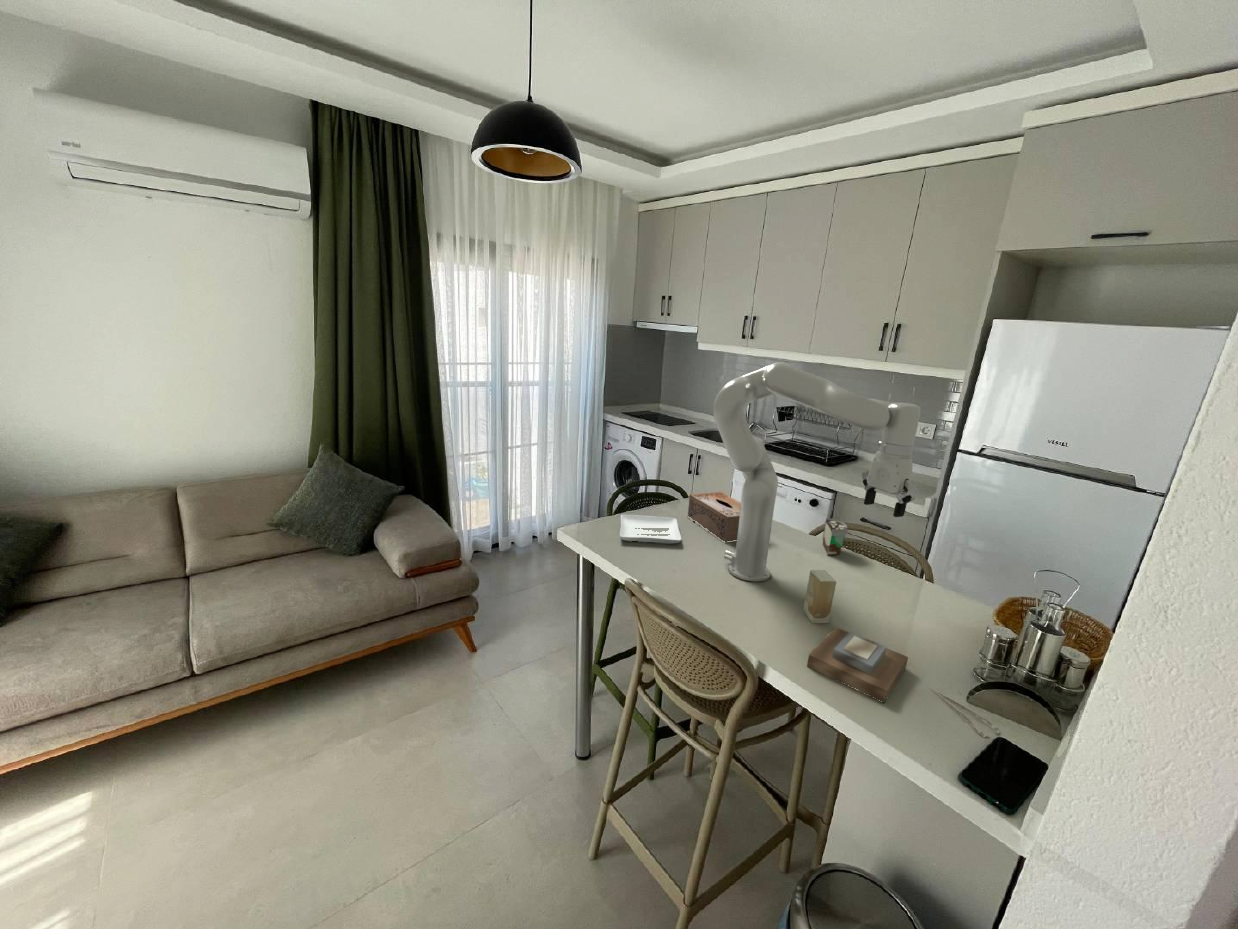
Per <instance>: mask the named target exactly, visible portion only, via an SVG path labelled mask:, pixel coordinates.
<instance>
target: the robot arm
mask: <svg viewBox="0 0 1238 929" xmlns="http://www.w3.org/2000/svg"><path fill="white" fill-rule="evenodd" d="M772 395H775V396H779V397H782V398H784V399H787V400H790V401H792V402H795V403H798V404H801V405H802V406H805V407H808V408H810V409H813V410H815V411H817V412H819V413H822V414H825V415H827V416H829V417H832V418H835V419H837V420H839V421H842V422H844V423H847V424H850V425H852V426H854V427H857V428H860V429H862V430H865V431H868V432H877V431H880V430H882V429H883V433H882V437H881V441H878V446H879V447H880V448H879V450H877V451H876V453H875V454H874V457H873V459H872V462H871V464H870V467H869V470H867V471H863V472H861V477H862V483H863V486H864V490H865V495H864V501H863V504H864V505H866V506H868V505H869V506H870V505H874V503H875V499H876V496H877V490H879V491H882V492H884V493H887V494H889V495H895V497H896V499H897V502H896V503H895V504H894V510H893V515H892V516H893V517H894V518H900V517H904V516H905V513H906V509H907V504H910V502H911V501H913V500H915V498H916V497H917V496H918V494H920V490H919V489H918V488H917V487H916V486H915V485H914V483H912V476H913V457H912V453H913V449H914V445H915V439H916V437H917V436H916V435H917V430H918V426H919V421H920V418H921V413H922V412H921V410H922V409H921V407H920V406H919V405H917V404H913V403H908V402H891V401H885V400H881V399H878V398H877V399H876V398H867V397H864V396H861V395H859V394H856V393H854V392H851V391H850V390H849V391H848V390H846V389H844V388H842V387H840V386H839V385H837V384H836V383H835V382H833V381H831V380H829V379H826V378H824V377H822V376H818V375H815V374H813V373H809V372H807V371H805V370H801V369H800V368H796V367H794V366H792V365H790V364H788V363H787V362H783V361H778V362H777V361H776V362H773V363H772V364H769V365H766V366H764V367H762V368H760V369H758V370H754V371H752V372H749V373H747V374H744V375H741V376H738V377H736V378H734V379H733V378H732V379H731V380H730V381H728V382H727V383H725V385H724V386H723V387H722V388H721V389H720V390H719V392H718V393H717V395H716V397H715V399H714V402H713V405H712V406H713V409H712V410H713V412H712V413H713V418H714V423H715V425H716V428H717V430H718V432H719V435H720V437H721V440H722V443H723V445H724V447H725V450H726V452H727V454H728V457H729V460H730V462H731V464H732V466H733V467H734V468H735V469H736V470H737V471H739V472H741V473H742V476H743V478H744V479H745V480H744V483H743V486H742V490H741V495H740V497H741V498H740V502H741V509H740V518H739V527H738V535H737V542H736V543H735V544H736V545H735V552H732V551H730V550H725V552H724V557H723V559H725V560H727V561H730V563H729V564H728V571H729V573H730V574H731V575H732V576H734V577H735V578H737V579H741V580H744V581H747V582H764V581H767V580H768V579H770V577H771V570H770V569H769V567H767V562H768V554H769V549H770V548H769V546H770V541H771V534H772V525H773V518H774V510H775V504H776V499H777V494H778V493H777V492H778V488H779V487H778V486H779V479H778V476H777V473H776V470H775V467H774V465H773V464H772V461H771V459H770V456H769V454H768V452H767V449H766V447H765V445H764V443H763V442H762V441H761V439H759V438H758V437H756V436H754V435H753V433H752V431H751V427H750V425H749V423H748V421H747V419H746V416H745V415H744V409H745V408H746V407H747V406H748V405H749V404H751V403H753V402H756V401H759V400H760V399H764V398H767V397H770V396H772Z"/></svg>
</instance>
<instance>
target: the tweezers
mask: <svg viewBox="0 0 1238 929" xmlns="http://www.w3.org/2000/svg"><path fill="white" fill-rule="evenodd" d="M930 687H931V686H929V685H928V686H927V688H928V689H929V690H930V691H931V692H932V693H934V694H935V695H936V696H937V697H938V698H940V699H941V700H942V701H943V702H944V703H946V704H947V706H949V707H950V708H951V709H952V710H953V711H954V712H956V713H957V714H958V715H959V716H960V717H961V718H962V719H963V720H964V721H966V723H967V724H969V725H970V727H972V729H973V730H974V731H975V732H976V733H977V734H978V735H979V736H981V737H982V738H984V737H985V738H987V737H986V736H988V737H989V733H985V732H983V731H982V730H981V729H980V728H979V727H978V725H977V724H976V723H975V722H974V721H973V720H972V719H970V718H969V717H968V716H967V715H966V714H965V713H967V714H968V715H969V716H971V717H972V718H974V719H975V720H976V721H978V722H980V723H981V724H983V725H984V726H986V727H987V728H989V729H990V730H992V732H994V734H995V735H999V734H1000V730H999V728H998V727H997V726H996V725H995V724H994V723H992V722H991V721H989V720H988V719H986V718H985V717H984V716H983V715H981V714H980V713H978V712H977V711H974V710H972V709H971V708H969V707H967V706H965V705H963V704H962V703H960V702H958V701H956V700H954V699H952V698H951V697H949V696H947V695H945V694H944V693H942V692H940V691H938V690H936V689H935V688H933V687H931V688H930ZM956 706H957V707H956ZM960 709H961V710H962V711H963V712H962V711H961V710H960ZM964 712H965V713H964Z"/></svg>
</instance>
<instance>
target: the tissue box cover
mask: <svg viewBox="0 0 1238 929" xmlns="http://www.w3.org/2000/svg"><path fill="white" fill-rule="evenodd" d="M687 509H688V510H687V517H688V516H689V517H691V518H692V519H693V520H695V521H697V522H698V523H699V524H701V525H702V526H703V527H704V528H707V529H708V530H709V531H710V532H712V533H713V534H715V535H716V536H717V537H719V538H720V539H721V540H723V541H725V542H727V541H733V540H737V535H738V527H739V518H740V509H741V501H739V500H737V499H735V498H733V497H731V496H729V495H727V494H726V493H724V492H721V491H714V492H702V493H692V494H689V497H688V508H687ZM721 540H720V541H721Z"/></svg>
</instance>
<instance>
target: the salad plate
mask: <svg viewBox="0 0 1238 929" xmlns="http://www.w3.org/2000/svg"><path fill="white" fill-rule="evenodd" d="M635 528H637V529H635ZM638 528H640V529H638ZM641 528H669V530H668V531H666V532H665V531H662V532H660V533H659V532H657V531H656V532H654V531H652V530H649V531H648V530H643V529H641ZM637 534H639V535H637ZM641 534H670V535H668V536H658V535H657V536H651V535H649V536H647V535H641ZM619 537H620V538H621V539H622V540H624V541H626V542H632V541H638V542H637V543H647V542H655V543H654V544H669V545H670V544H671V545H672V544H678V543H680V542H681V541H682V535H681V532H680V528H679V524H678V520H677V518H675V517H667V516H664V517H663V516H655V515H654V516H653V515H640V514H639V515H638V514H636V515H635V514H621V515H620V530H619Z"/></svg>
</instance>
